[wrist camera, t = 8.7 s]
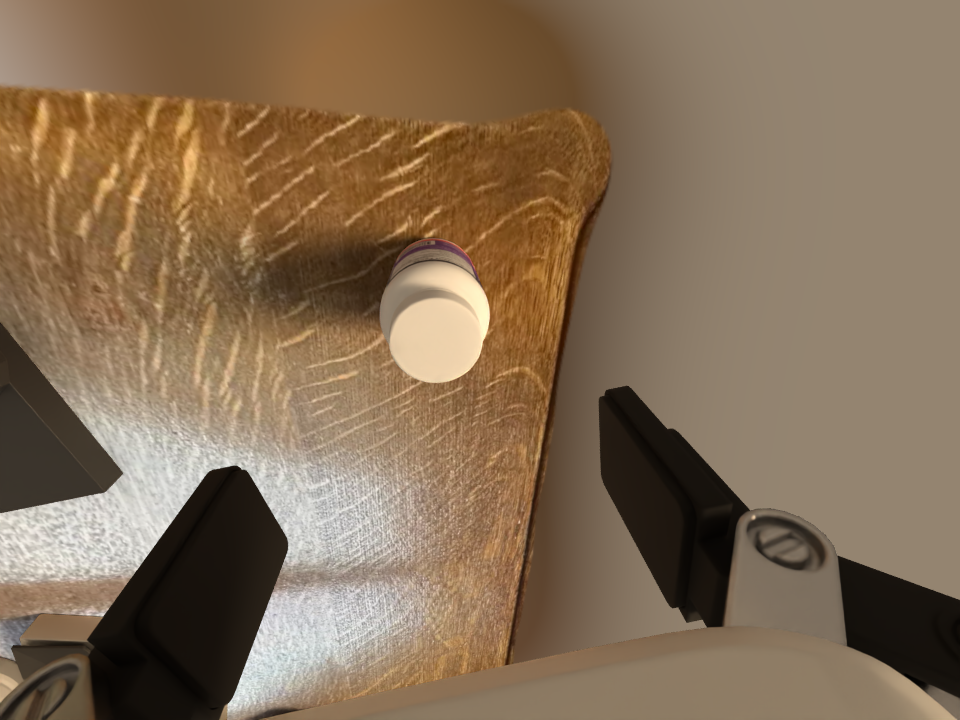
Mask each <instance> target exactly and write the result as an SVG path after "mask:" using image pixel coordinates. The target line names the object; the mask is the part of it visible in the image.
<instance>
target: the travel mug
mask: <svg viewBox="0 0 960 720" xmlns="http://www.w3.org/2000/svg"><path fill="white" fill-rule="evenodd" d="M22 681H24V680H23V679H22V676H21V673H20V671H19V668H18V665H17V663H16V662H14V661H12V660H9V659H6V658H2V657H0V703H1V702H2V700H3V699H4V698H5V697H6V696H7V695H8V694H9V693H10V692H11V691H13V690H14V689H15V688H16V687H17V686H18V685H19V684H20V683H21V682H22Z"/></svg>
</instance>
